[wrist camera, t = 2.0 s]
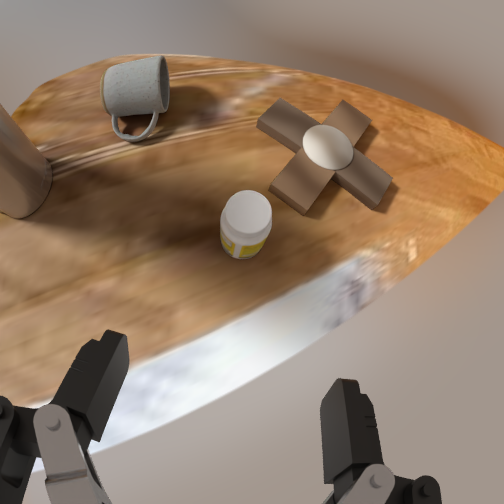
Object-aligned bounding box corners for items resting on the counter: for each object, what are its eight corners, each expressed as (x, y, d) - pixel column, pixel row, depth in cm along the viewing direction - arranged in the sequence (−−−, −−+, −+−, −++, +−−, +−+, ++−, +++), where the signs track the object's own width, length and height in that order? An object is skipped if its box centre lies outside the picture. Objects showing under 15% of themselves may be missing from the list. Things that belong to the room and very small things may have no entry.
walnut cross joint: (347, 249, 35) (354, 245, 33) (224, 159, 36) (224, 151, 34) (402, 154, 40) (409, 148, 38) (301, 83, 41) (305, 74, 39)
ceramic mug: (116, 89, 38) (104, 53, 30) (171, 82, 39) (165, 44, 31) (106, 149, 35) (87, 115, 28) (167, 142, 36) (158, 104, 29)
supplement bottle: (269, 226, 35) (284, 197, 27) (255, 266, 34) (267, 246, 26) (228, 212, 35) (232, 178, 27) (213, 250, 34) (212, 226, 26)
